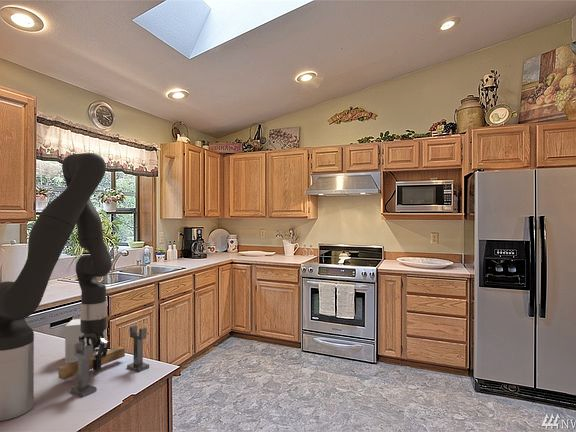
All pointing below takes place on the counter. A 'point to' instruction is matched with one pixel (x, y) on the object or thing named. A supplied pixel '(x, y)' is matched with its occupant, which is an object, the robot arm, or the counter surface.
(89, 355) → the grey support rack
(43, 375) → the counter surface
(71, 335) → the small box
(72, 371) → the tan wooden bar
